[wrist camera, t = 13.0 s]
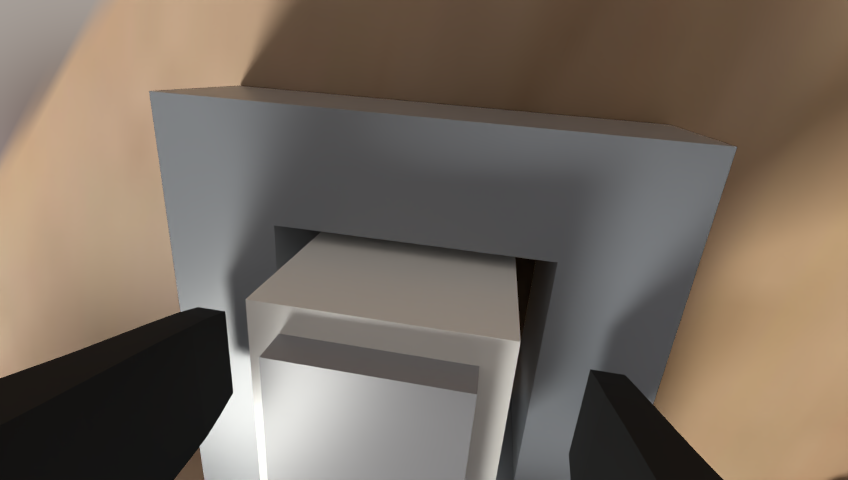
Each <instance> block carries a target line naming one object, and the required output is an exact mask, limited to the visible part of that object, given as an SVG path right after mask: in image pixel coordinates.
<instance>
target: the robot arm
mask: <svg viewBox="0 0 848 480" xmlns="http://www.w3.org/2000/svg"><path fill="white" fill-rule="evenodd" d="M232 394H233V384H232V374H231V364H230V354H229V344H228V334H227V324H226V314H225V311H220V310H214V309H207V308H201V307H196V308H193V309H189V310H185V311H182V312H179V313H176V314H173V315H171V316H168V317H165V318H162V319H160V320H157V321H154V322H151V323H149V324H146V325H144V326H141V327H138V328H136V329H133V330H131V331H128V332H125V333H123V334H120V335H117V336H115V337H112V338H110V339H107V340H104V341H102V342H99V343H97V344H94V345H91V346H89V347H86V348H84V349H81V350H78V351H76V352H73V353H70V354H68V355H65V356H62V357H59V358H56V359H54V360H51V361H48V362H45V363H42V364H39V365H37V366H34V367H31V368H28V369H25V370H23V371H20V372H17V373H14V374H11V375H9V376H6V377H3V378H0V480H174V479H175V477H176V476H177V475H178V474H179V472H180V471H181V470H182V468H183V467H184V466H185V465H186V463H187V462H188V461H189V459H190V458H191V457H192V456H193V454H194V453H195V452H196V451H197V449H198V448H199V447H200V445H201V444H202V443H203V441H204V440H205V439H206V437H207V436H208V434H209V433H210V431H211V429H212V428H213V426H214V425H215V423H216V421H217V420H218V418H219V417H220V415H221V413H222V411H223V410H224V408H225V406H226V405H227V403H228V401H229V399H230V398H231V396H232ZM569 465H570V478H571V480H723V479H722V478H721V477H720V476H719V475H718V474H717V473H716V472H715V471H714V470H713V469H712V468H711V467H710V466H709V465H708V464H707V463H706V461H705V460H704V459H703V458H702V457H701V456H700V455H699V454H698V453H697V452H696V451H695V450H694V449H693V448H692V447H691V446H690V445H689V444H688V442H687V441H686V440H685V439H684V438H683V437H682V436H681V435H680V434H679V433H678V432H677V431H676V430H675V428H674V427H673V426H672V425H671V424H670V423H669V422H668V421H667V420H666V419H665V417H664V416H663V415H662V414H661V413H660V412H659V411H658V410H657V409H656V408H655V406H654V405H653V404H652V403H651V402H650V401H649V400H648V399H647V398H646V397H645V396H644V394H643V393H642V392H641V391H640V390H639V389H638V388H637V387H636V386H635V385H634V384H633V383H632V382H631V381H630V379H629V378H628V377H627V376H626V375H623V374H616V373H610V372H604V371H598V370H591V369H590V372H589V376H588V380H587V384H586V388H585V392H584V396H583V400H582V404H581V408H580V412H579V415H578V419H577V423H576V427H575V431H574V435H573V439H572V443H571V447H570V451H569Z"/></svg>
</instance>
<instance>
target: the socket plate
mask: <svg viewBox="0 0 848 480" xmlns="http://www.w3.org/2000/svg"><path fill="white" fill-rule="evenodd" d="M149 93H150V100H151V107H152V114H153V122H154V129H155V136H156V143H157V150H158V157H159V164H160V171H161V178H162V185H163V192H164V199H165V206H166V213H167V220H168V227H169V234H170V241H171V248H172V255H173V262H174V270H175V277H176V284H177V291H178V298H179V305H180V312H182V311H185V310H189V309H193V308H196V307H201V308H207V309H214V310H220V311H225V314H226V324H227V334H228V344H229V354H230V364H231V374H232V384H233V394H232V396H231V398H230V399H229V401H228V403H227V405H226V406H225V408H224V410H223V411H222V413H221V415H220V417H219V418H218V420H217V421H216V423H215V425H214V426H213V428H212V429H211V431H210V433H209V434H208V436H207V437H206V439H205V440H204V441H203V443H202V444H201V445H200V453H201V460H202V467H203V474H204V480H260V474H259V462H258V450H257V437H256V425H255V412H254V400H253V387H252V375H251V363H250V350H249V338H248V325H247V313H246V300H245V299H246V298H247V297H249V296H250V295H251V294H252V293H253V292H254V291H255V290H256V289H258V288H259V287H260V286H261V285H262V284H263V283H264V282H265V281H267V280H268V279H269V278H270V277H271V276H272V275H273V274H274V273H276V272H277V271H278V270H279V269H280V268H281V267H282V266H283V265H285V264H286V263H287V262H288V261H289V260H290V259H291V258H292V257H294V256H295V255H296V254H297V253H298V252H299V251H300V250H301V249H302V248H304V247H305V246H306V245H307V244H308V243H309V242H310V241H311V240H313V239H314V238H315V237H316V236H317V235H318V234H319V233H320V232H329V233H336V234H344V235H351V236H359V237H367V238H374V239H382V240H390V241H397V242H405V243H412V244H420V245H428V246H435V247H443V248H451V249H458V250H466V251H473V252H481V253H489V254H496V255H504V256H512V257H519V258H527V259H535V266H534V271H533V277H532V282H531V288H530V293H529V299H528V304H527V310H526V316H525V321H524V327H523V332H522V338H521V343H520V349H519V354H518V360H517V366H516V371H515V377H514V382H513V388H512V393H511V398H510V403H509V409H508V414H507V420H506V426H505V431H504V437H503V442H502V448H501V453H500V459H499V464H498V470H497V476H496V480H571V478H570V465H569V451H570V447H571V443H572V439H573V435H574V431H575V427H576V423H577V419H578V415H579V412H580V408H581V404H582V400H583V396H584V392H585V388H586V384H587V380H588V376H589V372H590V369H591V370H598V371H604V372H610V373H616V374H623V375H626V376H627V377H628V378H629V379H630V381H631V382H632V383H633V384H634V385H635V386H636V387H637V388H638V389H639V390H640V391H641V392H642V393H643V394H644V396H645V397H646V398H647V399H648V400H649V401H650V402H651V403H652V404H653V403H654V400H655V397H656V394H657V391H658V388H659V385H660V382H661V379H662V376H663V373H664V370H665V367H666V363H667V360H668V357H669V354H670V351H671V348H672V345H673V342H674V339H675V336H676V333H677V330H678V327H679V324H680V321H681V317H682V314H683V311H684V308H685V305H686V302H687V299H688V296H689V293H690V290H691V287H692V284H693V281H694V278H695V275H696V272H697V268H698V265H699V262H700V259H701V256H702V253H703V250H704V247H705V244H706V241H707V238H708V235H709V232H710V229H711V226H712V223H713V219H714V216H715V213H716V210H717V207H718V204H719V201H720V198H721V195H722V192H723V189H724V186H725V183H726V180H727V177H728V174H729V170H730V167H731V164H732V161H733V158H734V155H735V152H736V149H737V147H736V146H733V145H730V144H727V143H724V142H721V141H718V140H715V139H712V138H709V137H706V136H703V135H700V134H697V133H694V132H691V131H688V130H685V129H682V128H679V127H676V126H673V125H667V124H656V123H645V122H634V121H623V120H612V119H601V118H590V117H579V116H568V115H557V114H546V113H535V112H524V111H513V110H502V109H490V108H479V107H468V106H457V105H446V104H435V103H424V102H413V101H402V100H391V99H380V98H369V97H358V96H347V95H336V94H325V93H314V92H303V91H292V90H281V89H270V88H259V87H248V86H225V87H208V88H192V89H175V90H159V91H149Z"/></svg>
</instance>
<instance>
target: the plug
mask: <svg viewBox="0 0 848 480" xmlns="http://www.w3.org/2000/svg"><path fill="white" fill-rule="evenodd" d="M245 300H246V313H247V325H248V338H249V350H250V363H251V375H252V387H253V400H254V412H255V425H256V437H257V450H258V462H259V474H260V480H496V476H497V470H498V464H499V459H500V453H501V448H502V442H503V437H504V431H505V426H506V420H507V414H508V409H509V403H510V398H511V392H512V387H513V381H514V376H515V370H516V365H517V359H518V353H519V348H520V342H521V341H520V325H519V309H518V293H517V277H516V261H515V257H512V256H504V255H496V254H489V253H481V252H473V251H466V250H458V249H451V248H443V247H435V246H428V245H420V244H412V243H405V242H397V241H390V240H382V239H374V238H367V237H359V236H351V235H344V234H336V233H329V232H320V233H319V234H318V235H317V236H316V237H315V238H314V239H313V240H311V241H310V242H309V243H308V244H307V245H306V246H305V247H304V248H302V249H301V250H300V251H299V252H298V253H297V254H296V255H295V256H294V257H292V258H291V259H290V260H289V261H288V262H287V263H286V264H285V265H283V266H282V267H281V268H280V269H279V270H278V271H277V272H276V273H274V274H273V275H272V276H271V277H270V278H269V279H268V280H267V281H265V282H264V283H263V284H262V285H261V286H260V287H259V288H258V289H256V290H255V291H254V292H253V293H252V294H251V295H250V296H249V297H247V298H246V299H245Z"/></svg>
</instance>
